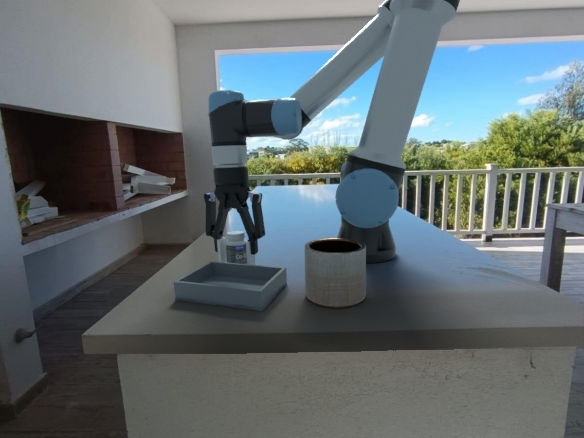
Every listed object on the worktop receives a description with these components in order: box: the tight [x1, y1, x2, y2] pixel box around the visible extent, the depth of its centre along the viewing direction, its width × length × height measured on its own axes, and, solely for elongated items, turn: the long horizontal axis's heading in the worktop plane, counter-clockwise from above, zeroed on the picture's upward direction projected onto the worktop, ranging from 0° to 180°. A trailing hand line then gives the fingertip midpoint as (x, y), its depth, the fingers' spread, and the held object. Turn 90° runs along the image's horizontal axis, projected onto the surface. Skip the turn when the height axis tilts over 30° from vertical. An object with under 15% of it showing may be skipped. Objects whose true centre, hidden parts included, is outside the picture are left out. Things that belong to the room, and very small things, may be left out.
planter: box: [304, 237, 367, 309], centre depth 60 cm, size 11×11×10 cm
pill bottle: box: [226, 230, 247, 264], centre depth 77 cm, size 5×5×8 cm
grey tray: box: [173, 260, 288, 312], centre depth 64 cm, size 17×12×4 cm
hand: (237, 266), depth 78 cm, fingers open, 7 cm apart
